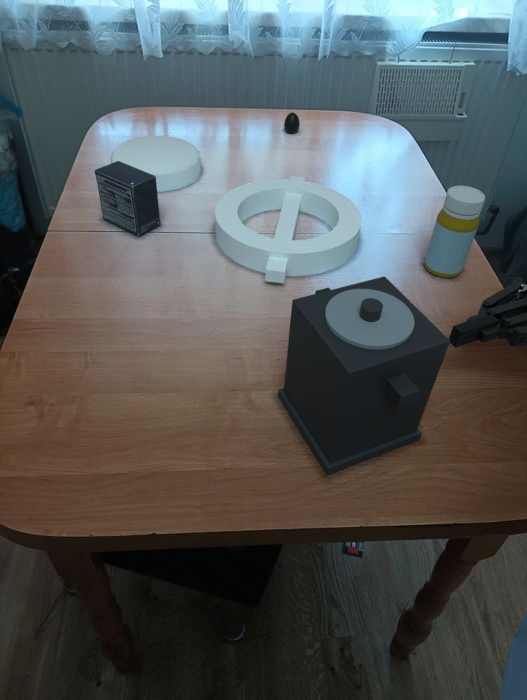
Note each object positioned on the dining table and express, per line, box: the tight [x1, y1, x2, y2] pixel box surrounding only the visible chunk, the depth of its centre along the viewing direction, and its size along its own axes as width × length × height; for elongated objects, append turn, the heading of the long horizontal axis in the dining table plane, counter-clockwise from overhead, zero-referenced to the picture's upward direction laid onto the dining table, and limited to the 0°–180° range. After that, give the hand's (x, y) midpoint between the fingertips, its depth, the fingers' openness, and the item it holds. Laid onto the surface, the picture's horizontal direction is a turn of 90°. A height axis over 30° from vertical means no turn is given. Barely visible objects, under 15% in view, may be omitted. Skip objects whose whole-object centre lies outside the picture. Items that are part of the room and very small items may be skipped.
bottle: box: [423, 185, 486, 279], centre depth 95 cm, size 7×7×15 cm
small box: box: [94, 161, 162, 237], centre depth 104 cm, size 11×6×10 cm, turn 53°
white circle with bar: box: [214, 175, 362, 284], centre depth 105 cm, size 28×28×5 cm
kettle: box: [277, 276, 451, 476], centre depth 67 cm, size 20×15×20 cm
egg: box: [283, 111, 301, 135], centre depth 143 cm, size 4×4×5 cm
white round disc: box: [110, 135, 202, 193], centre depth 123 cm, size 20×20×5 cm
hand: (454, 336), depth 71 cm, fingers closed
